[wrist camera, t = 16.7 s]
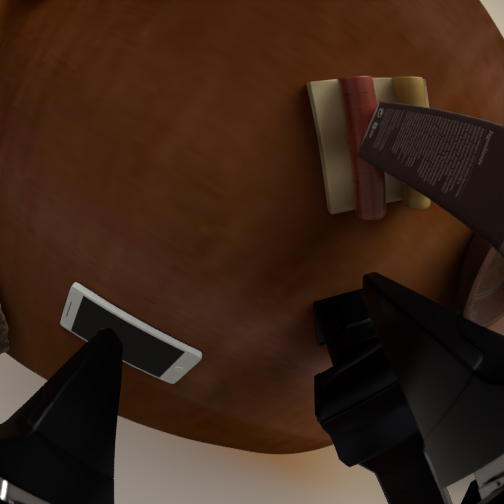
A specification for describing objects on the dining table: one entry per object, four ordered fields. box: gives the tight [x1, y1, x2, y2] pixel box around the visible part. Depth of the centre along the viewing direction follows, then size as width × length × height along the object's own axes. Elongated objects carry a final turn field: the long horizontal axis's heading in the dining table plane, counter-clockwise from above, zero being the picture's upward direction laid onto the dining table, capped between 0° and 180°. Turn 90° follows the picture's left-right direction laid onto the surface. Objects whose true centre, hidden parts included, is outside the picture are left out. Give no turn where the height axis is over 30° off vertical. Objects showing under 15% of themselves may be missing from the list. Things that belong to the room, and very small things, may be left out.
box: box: [357, 101, 504, 258], centre depth 10 cm, size 6×4×12 cm
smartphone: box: [60, 282, 202, 384], centre depth 26 cm, size 7×15×1 cm, turn 51°
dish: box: [448, 233, 504, 328], centre depth 23 cm, size 18×22×5 cm
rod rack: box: [306, 76, 431, 220], centre depth 17 cm, size 10×10×3 cm
